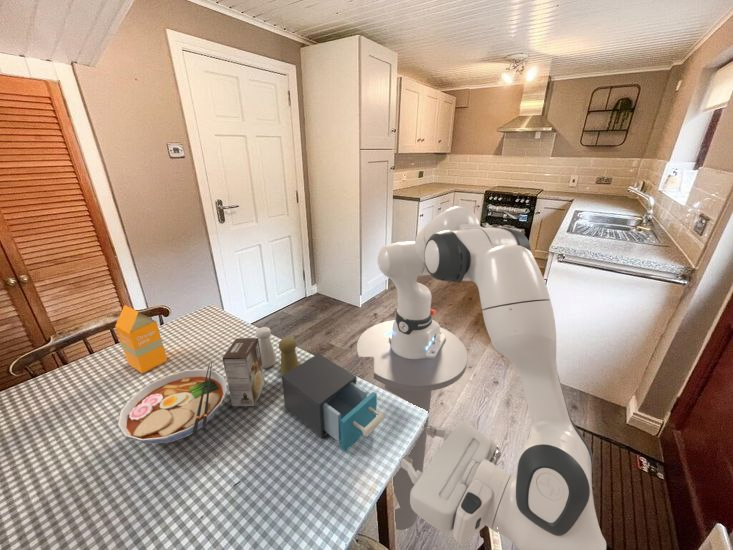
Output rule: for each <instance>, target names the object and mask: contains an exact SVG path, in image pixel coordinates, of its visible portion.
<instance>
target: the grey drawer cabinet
mask: <svg viewBox="0 0 733 550" xmlns="http://www.w3.org/2000/svg"><path fill="white" fill-rule="evenodd" d="M351 382H353V383H355V384H357V375H355V374H354V373H352V372H350V371H348V370H347V369H345V367H342V366H341V365H338V364H337V363H336V362H333V361H332V360H331V359H329V358H327V357H325V356H324V355H322V354H320V353H317V354H316V355H313V356H312V357H310V358H308V359H307V360H306V361H304V362H302V363H301V364H299V366H297V367H296V368H294V369H292V370H291V371H289V372H287V373H286V374H284V375H282V374H281V384H282V393H283V402H284V407H285V409H286V410H287V411H288V412H289V413H291V414H292V415H293V416H294V417H295V418H297V419H298V420H299V421H300V422H302V424H304V425H305V426H306V427H307V428H309V429H310V430H311V431H312V432H313V433H314V434H316V436H318V437H319V438H320V439H323V438H324V437H325V436H326V435H327V434H328V433H327V432H326V431H324V430H323V413H322V405H323V404H324V403H325V402H327V401H328V400H329V399H331V398H332V397H333V396H334V395H336V394H337V393H338V392H340V391H341V390H342V389H344V388H345V387H346V386H347V385H349V384H350V383H351Z"/></svg>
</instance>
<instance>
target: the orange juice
mask: <svg viewBox="0 0 733 550" xmlns="http://www.w3.org/2000/svg"><path fill="white" fill-rule="evenodd" d="M157 322H158V321H156V320H154V319H153V318H151V317H149V316H147V315H145V314H144V313H142V312H141V311H138V310H137V309H134V308H132V307H130V306H128V305H126V304H124V305H123V307H122V309H121V312H120V314H119V316H118V318H117V321H116V323H115V325H114V327H115V330H116V333H117V335H118V338H119V341H120V344H121V348H122V350H123V353H124V355H125V358H126V362H127V364H128V365H129V366H130V367H132V368H133V369H135V370H137V371H138V372H139V373H141V374H145V373H146V372H148V371H150V370H152V369H155V368H156V367H158V366H160V365H162V364H164V363H165V362H167V361H168V357H167V353H166V351H165V348H164V343H163V339H162V337H161V333H160V330H159V326H158V323H157Z"/></svg>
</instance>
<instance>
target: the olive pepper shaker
mask: <svg viewBox="0 0 733 550" xmlns="http://www.w3.org/2000/svg"><path fill="white" fill-rule="evenodd" d="M296 348H297V341H296V340H295V339H294V338H293V337H284V338H282V339H281V340H280V341H279V343H278V349H279V351H280V370H279V371H280V374H281V376H282V375H284V374H286V373H287V372H289V371H291V370H292V369H294V368H296V367H297V366H299V365H300V364H299V359H298V355H297V351H296Z"/></svg>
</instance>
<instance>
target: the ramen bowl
mask: <svg viewBox="0 0 733 550" xmlns="http://www.w3.org/2000/svg"><path fill="white" fill-rule="evenodd" d="M212 365H213V362H212V361H211V362H209V363H208V366H207V369H204V368H197V369H185V370H181V371H179V372H175V373H172V374H168V375H165V376H163V377H161V378H160V379H157V380H155V381H152V382H150V383H149V384H147V385H145V386H144V387H143V388H142V389H140V390H139V391H138V392H137V393H135V394H134V395H133V396H131V398H130V399H129V400H128V401H127V402H126V404H125V405H124V406H123V407H122V409H121V410H120V413H119V417H118V422H117V426H118V428H119V429H120V430H121V432H122V433H123V434H122V435H124V436H125V437H127V438H128V439H130V440H135V441H138V442H142V443H146V444H150V445H154V444H166V443H174V442H177V441H178V440H181V439H184V438H186V437H189V436H191V435H192V434H193V435H194V434H197V433H198V430H200V429H201V431H202V432H205V431H206V430H207V423H209V421H210V420H211V419H212V418H213V417H214V416H215V414H216V413H217V412H218V411H219V409H220V408H221V406H222V403H223V400H224V398H225V395H226V393H227V391H228V385H227V381H226V378H225V377H224V376H223V375H221V374H220V373H219V372H217V371H215V370H212V367H213V366H212Z"/></svg>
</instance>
